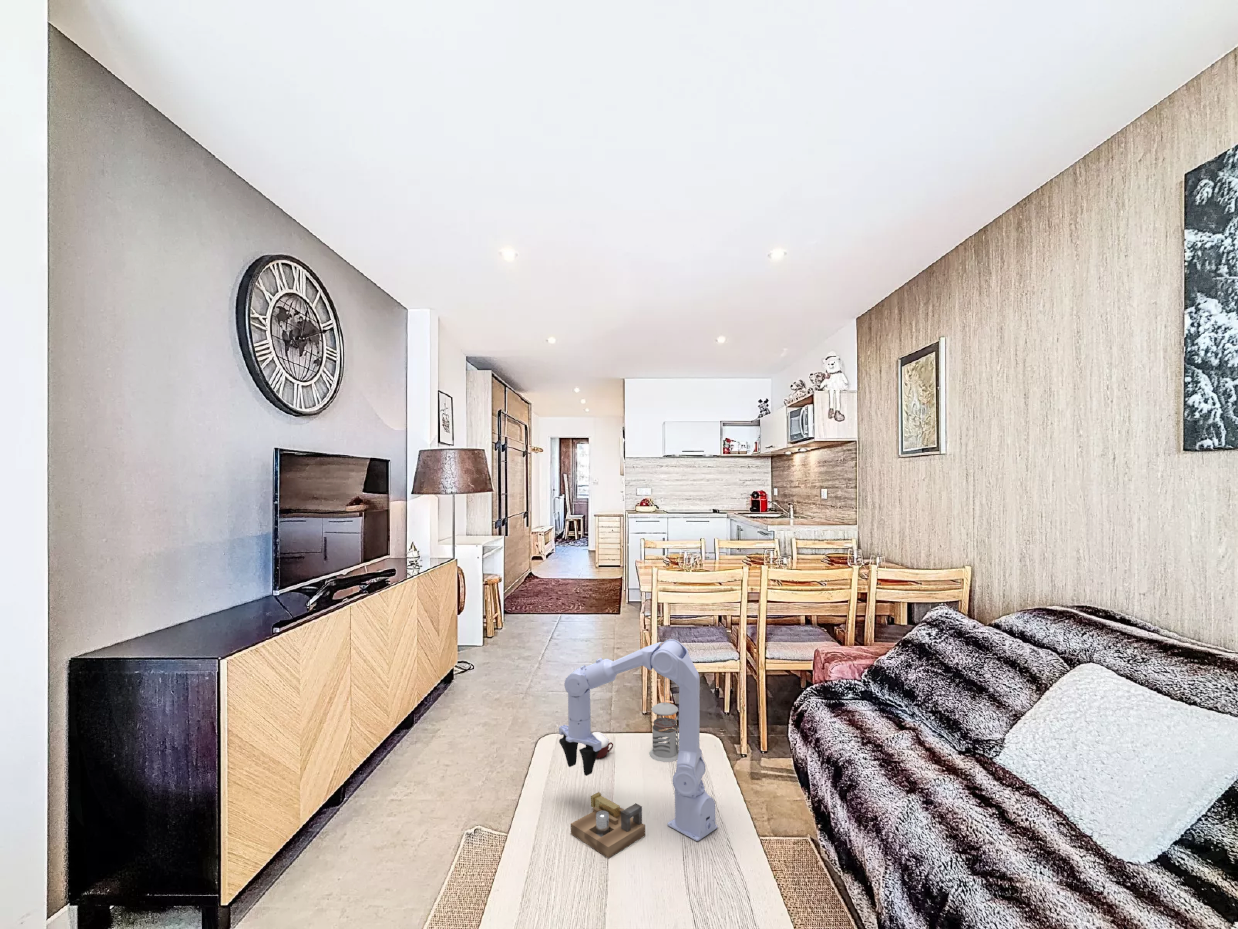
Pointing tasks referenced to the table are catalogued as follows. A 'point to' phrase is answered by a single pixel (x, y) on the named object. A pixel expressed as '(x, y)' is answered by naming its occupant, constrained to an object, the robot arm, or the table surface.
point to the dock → (611, 830)
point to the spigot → (602, 823)
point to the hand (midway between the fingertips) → (580, 769)
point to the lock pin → (605, 805)
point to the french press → (669, 749)
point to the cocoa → (603, 744)
